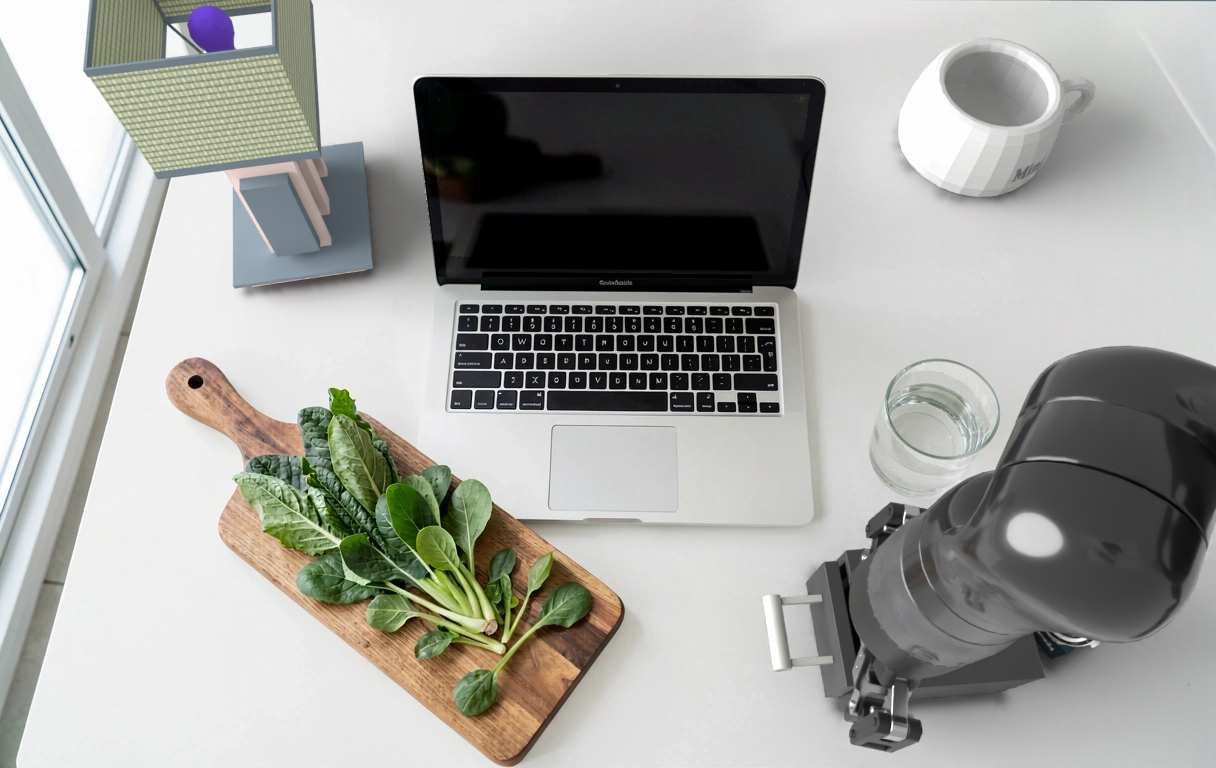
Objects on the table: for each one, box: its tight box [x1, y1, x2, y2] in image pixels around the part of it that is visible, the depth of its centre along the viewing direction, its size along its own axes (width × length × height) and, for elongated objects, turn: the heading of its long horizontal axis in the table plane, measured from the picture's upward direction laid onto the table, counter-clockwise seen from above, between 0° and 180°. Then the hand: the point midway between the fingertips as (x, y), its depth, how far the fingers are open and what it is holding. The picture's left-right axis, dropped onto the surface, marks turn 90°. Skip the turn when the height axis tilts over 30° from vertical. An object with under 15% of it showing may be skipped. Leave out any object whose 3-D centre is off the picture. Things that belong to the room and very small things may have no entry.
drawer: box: [762, 560, 861, 699], centre depth 76 cm, size 18×10×7 cm, turn 94°
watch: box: [1033, 631, 1102, 661], centre depth 76 cm, size 6×8×11 cm
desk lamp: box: [82, 0, 374, 290], centre depth 84 cm, size 18×14×33 cm
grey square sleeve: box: [836, 547, 1046, 701], centre depth 76 cm, size 14×11×9 cm
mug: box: [897, 37, 1096, 198], centre depth 100 cm, size 21×17×10 cm
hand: (858, 643), depth 62 cm, fingers open, 8 cm apart
